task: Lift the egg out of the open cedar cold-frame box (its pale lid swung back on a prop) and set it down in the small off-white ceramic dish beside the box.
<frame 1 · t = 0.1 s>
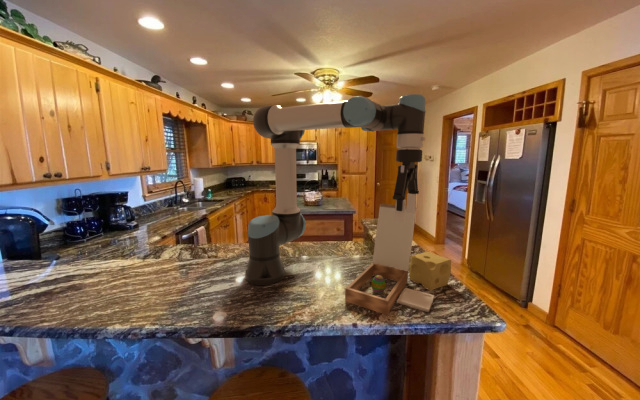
hand: (405, 216, 83), 28 cm above the counter, fingers open, 13 cm apart
dish: (415, 300, 86), on the counter
lid: (393, 235, 102), point 16 cm above the counter, hinge at 105.0°
cheese: (428, 282, 98), on the counter
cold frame: (378, 291, 91), on the counter
egg: (378, 291, 91), resting in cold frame
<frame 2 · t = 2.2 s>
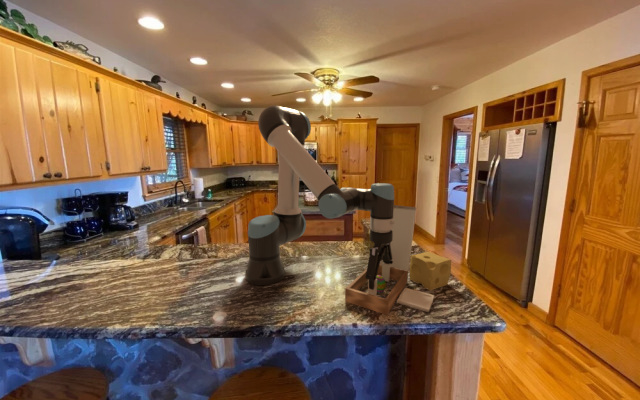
hand: (379, 288, 91), 1 cm above the counter, fingers open, 13 cm apart
nothing on the counter moved.
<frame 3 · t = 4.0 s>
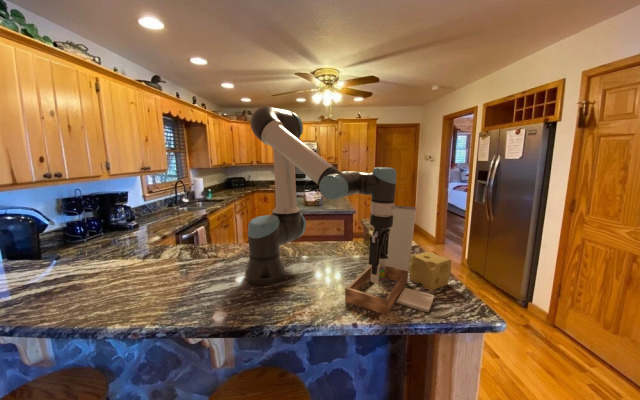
hand: (377, 278, 91), 5 cm above the counter, fingers closed on egg, 5 cm apart
egg: (377, 280, 91), point 4 cm above the counter, touching gripper
everything else where it was.
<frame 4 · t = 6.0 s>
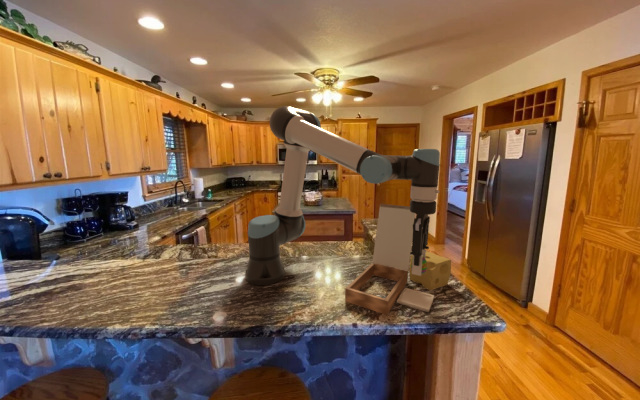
hand: (418, 270, 84), 10 cm above the counter, fingers closed on egg, 5 cm apart
egg: (418, 272, 84), point 10 cm above the counter, touching gripper
everything else where it was.
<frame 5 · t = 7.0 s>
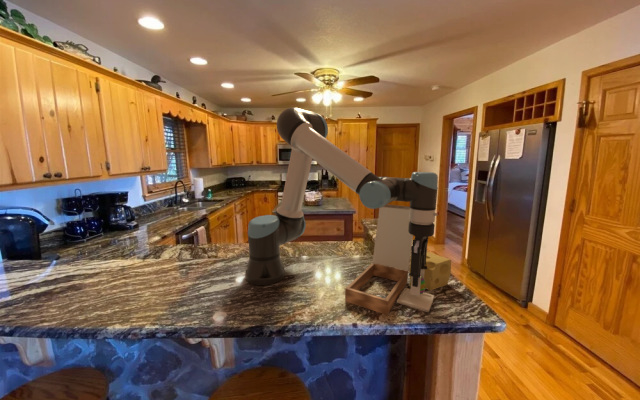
hand: (416, 290, 85), 3 cm above the counter, fingers closed on egg, 5 cm apart
egg: (417, 292, 85), point 3 cm above the counter, touching gripper
everything else where it was.
when the fingers open (1 cm above the counter, at t = 7.8 s): egg stays where it is, resting on dish.
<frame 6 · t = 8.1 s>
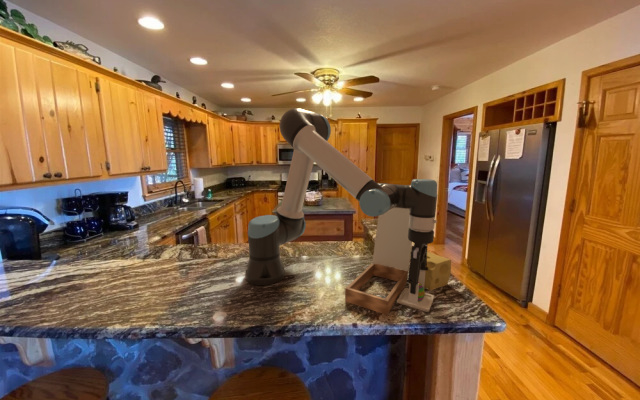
hand: (416, 294, 85), 2 cm above the counter, fingers open, 9 cm apart
egg: (416, 299, 85), resting on dish
everything else where it was.
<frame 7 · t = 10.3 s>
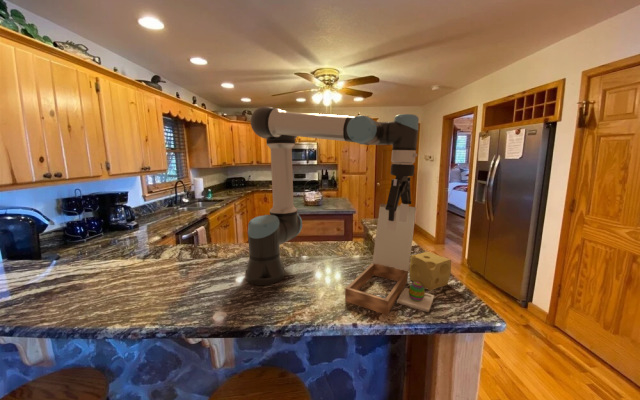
hand: (397, 225, 90), 23 cm above the counter, fingers open, 13 cm apart
nothing on the counter moved.
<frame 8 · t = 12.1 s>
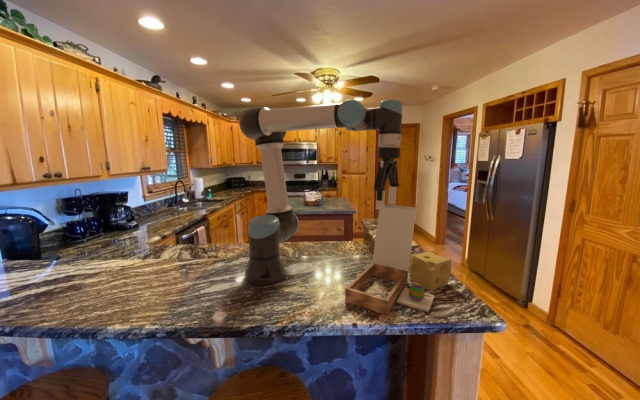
hand: (386, 206, 95), 29 cm above the counter, fingers open, 13 cm apart
nothing on the counter moved.
at the end: egg inside the target area on the dish (0.0 cm from its centre), point 0.3 cm above the dish's base; the gripper is holding nothing; egg touching dish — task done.
